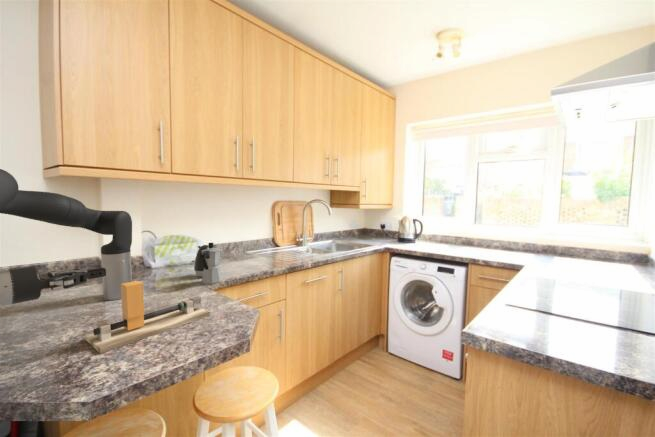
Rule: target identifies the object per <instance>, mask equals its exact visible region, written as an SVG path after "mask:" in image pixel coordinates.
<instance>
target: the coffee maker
mask: <svg viewBox="0 0 655 437" xmlns="http://www.w3.org/2000/svg"><path fill="white" fill-rule="evenodd" d="M207 244H208V246H209V248H208V249H205V250H202V251H201V252H202V259H201V260H202V262H203V265H204V271H203V277H202V279H201V280H202V281H201V284H203V283H204V284H203V285H216V284H221V283H222V282H223V277H222V272H221V267H220V263H221V255H222V254H221V253H222V250H221V249H220V248H217V247H216V248H215V247H214V242H208V243H207Z"/></svg>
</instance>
